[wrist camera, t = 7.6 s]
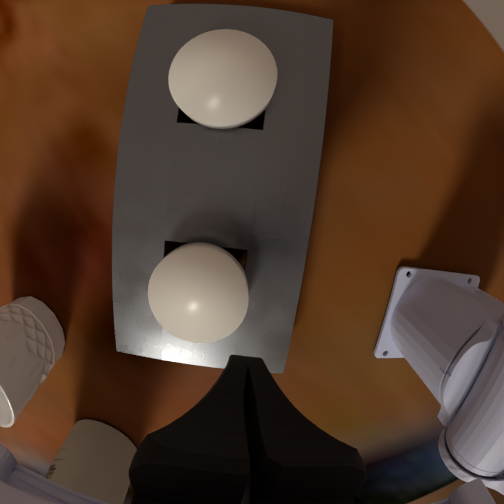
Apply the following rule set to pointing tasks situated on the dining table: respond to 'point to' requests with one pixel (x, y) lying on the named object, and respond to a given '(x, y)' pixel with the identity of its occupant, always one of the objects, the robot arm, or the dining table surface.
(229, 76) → the knob
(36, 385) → the white cup
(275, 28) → the knob mount
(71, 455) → the travel mug
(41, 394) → the dining table surface
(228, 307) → the knob
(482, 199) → the dining table surface
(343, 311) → the dining table surface
